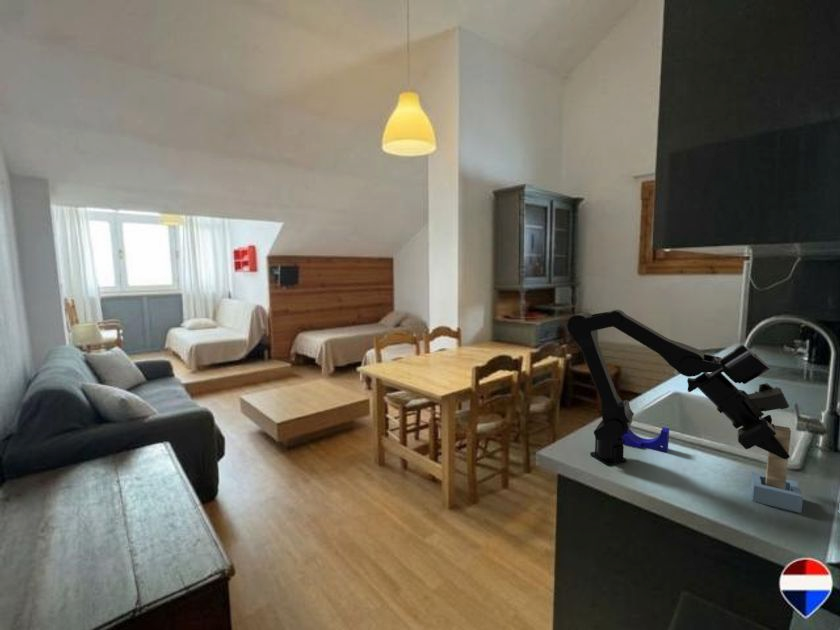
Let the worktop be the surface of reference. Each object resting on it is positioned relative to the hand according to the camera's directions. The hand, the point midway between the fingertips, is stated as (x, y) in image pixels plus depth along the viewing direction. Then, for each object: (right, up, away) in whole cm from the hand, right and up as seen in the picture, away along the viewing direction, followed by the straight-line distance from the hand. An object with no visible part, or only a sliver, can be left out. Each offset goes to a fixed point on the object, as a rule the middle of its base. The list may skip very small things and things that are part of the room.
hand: (786, 455), depth 84 cm
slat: (-1, -7, +2) cm, 7 cm away
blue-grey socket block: (-1, -10, +2) cm, 10 cm away
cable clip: (-15, -8, +28) cm, 33 cm away
